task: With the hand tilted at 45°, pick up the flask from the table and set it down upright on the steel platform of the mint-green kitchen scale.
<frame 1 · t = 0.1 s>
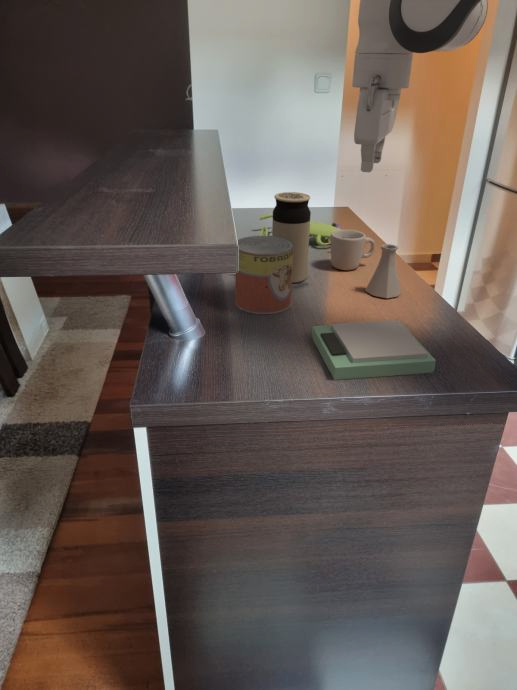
hand: (371, 166, 88), 27 cm above the worktop, tool pointing down, fingers open, 8 cm apart
cup: (350, 267, 122), on the worktop
flask: (383, 293, 108), on the worktop
scale: (369, 354, 85), on the worktop
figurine: (300, 241, 140), on the worktop
travel mug: (288, 278, 115), on the worktop
canned food: (263, 303, 103), on the worktop
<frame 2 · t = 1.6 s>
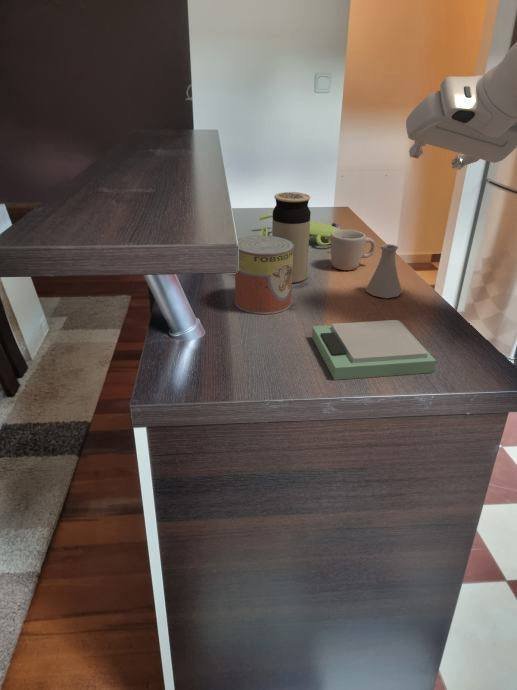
hand: (434, 160, 94), 27 cm above the worktop, tool tilted 45°, fingers open, 8 cm apart
nothing on the worktop moved.
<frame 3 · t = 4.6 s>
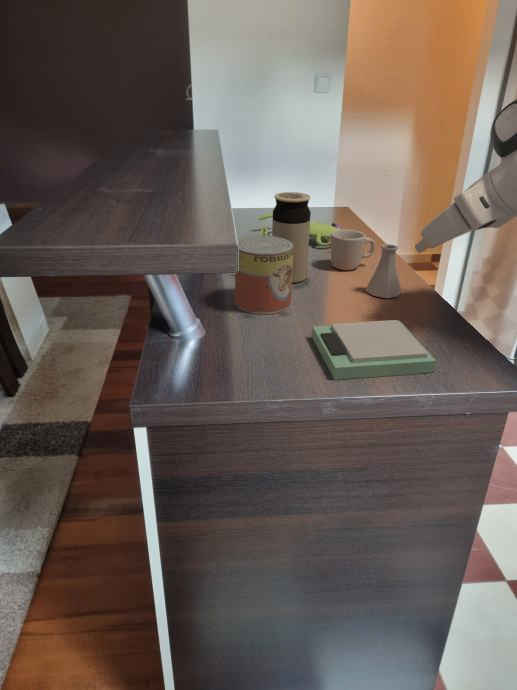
hand: (430, 243, 98), 12 cm above the worktop, tool tilted 45°, fingers open, 8 cm apart
nothing on the worktop moved.
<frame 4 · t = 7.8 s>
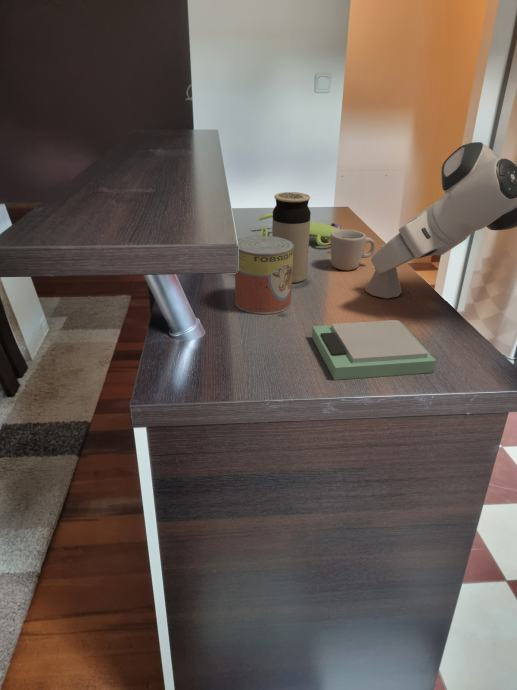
hand: (383, 267, 106), 5 cm above the worktop, tool tilted 45°, fingers closed on flask, 3 cm apart
flask: (383, 293, 108), on the worktop, touching gripper
everything else where it was.
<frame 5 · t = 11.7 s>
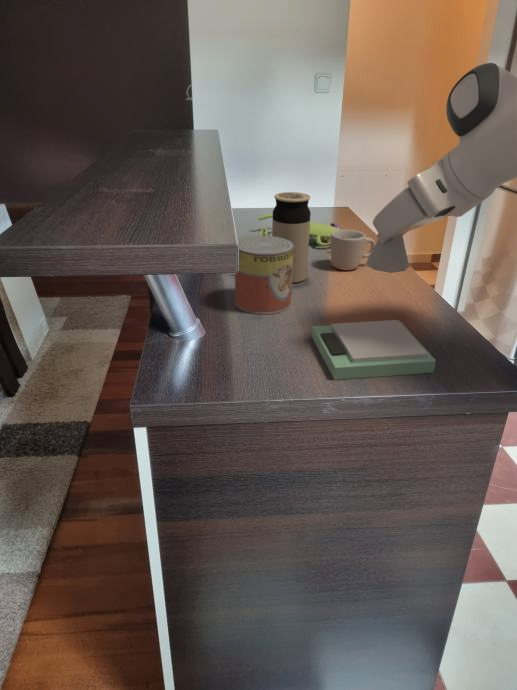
hand: (388, 236, 88), 16 cm above the worktop, tool tilted 45°, fingers closed on flask, 3 cm apart
flask: (386, 268, 90), point 11 cm above the worktop, touching gripper
everything else where it was.
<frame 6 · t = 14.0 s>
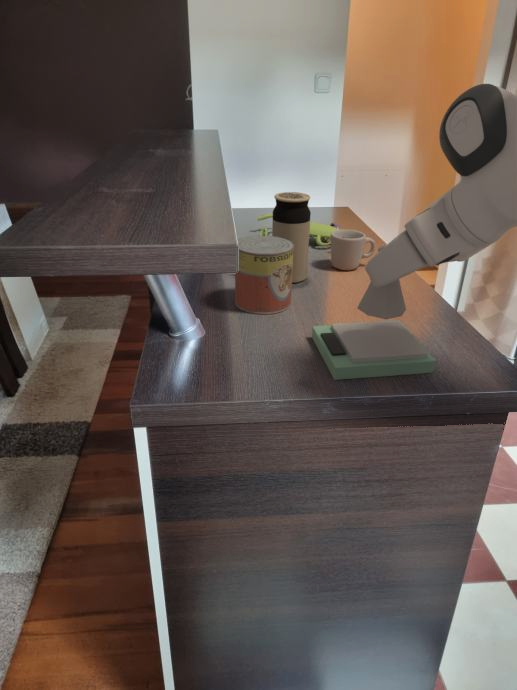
hand: (382, 277, 78), 13 cm above the worktop, tool tilted 45°, fingers closed on flask, 3 cm apart
flask: (381, 311, 80), point 8 cm above the worktop, touching gripper
everything else where it was.
when the fingers open (8 cm above the worktop, at t = 15.8 s): flask stays where it is, resting on scale.
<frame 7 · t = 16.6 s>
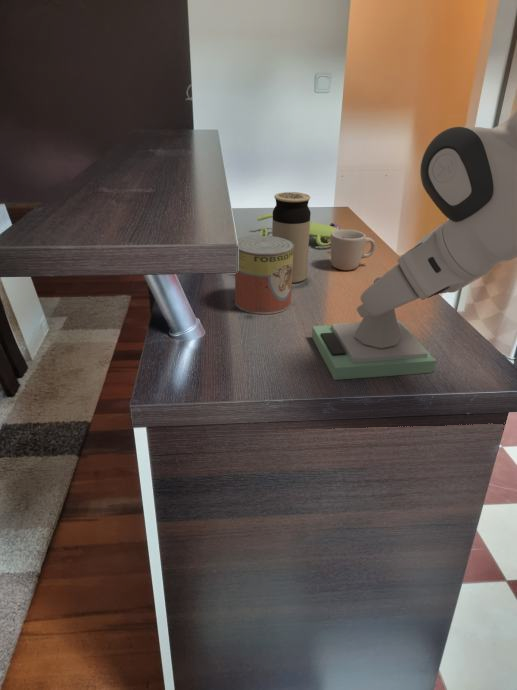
hand: (378, 303, 81), 9 cm above the worktop, tool tilted 45°, fingers open, 8 cm apart
flask: (377, 339, 83), point 3 cm above the worktop, touching scale
everything else where it was.
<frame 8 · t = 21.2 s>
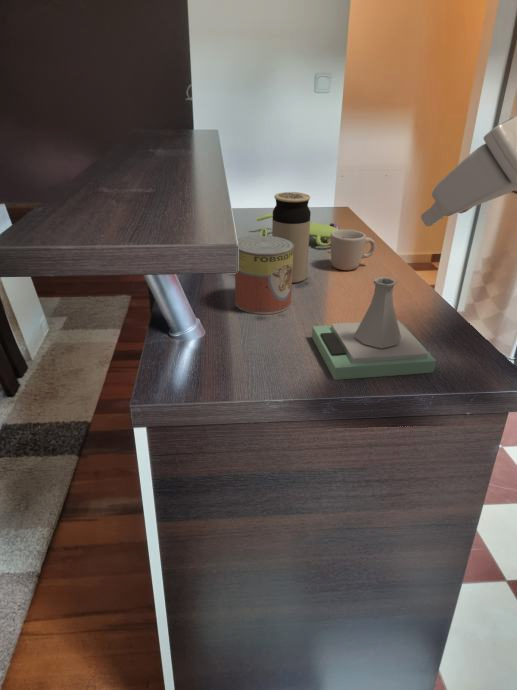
hand: (442, 214, 69), 24 cm above the worktop, tool tilted 45°, fingers open, 8 cm apart
nothing on the worktop moved.
at the end: flask inside the target area on the scale (0.3 cm from its centre), point 2.8 cm above the scale's base; flask tilted 0°; the gripper is holding nothing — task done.
